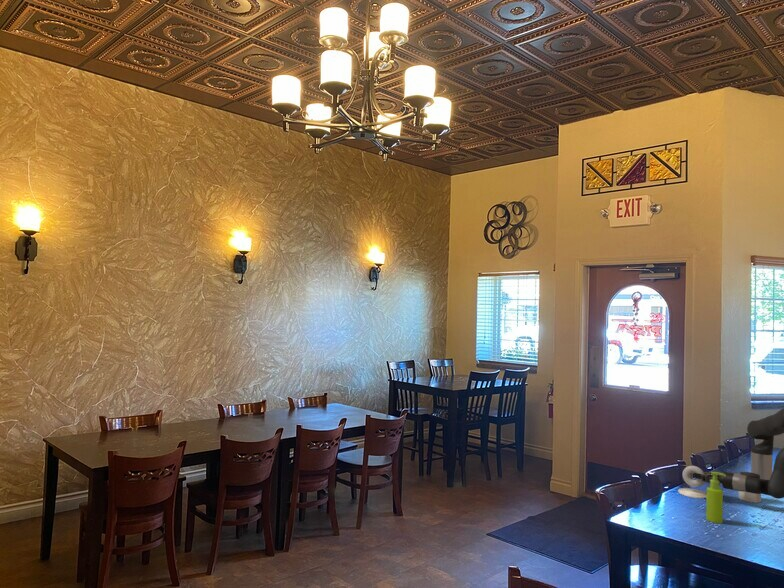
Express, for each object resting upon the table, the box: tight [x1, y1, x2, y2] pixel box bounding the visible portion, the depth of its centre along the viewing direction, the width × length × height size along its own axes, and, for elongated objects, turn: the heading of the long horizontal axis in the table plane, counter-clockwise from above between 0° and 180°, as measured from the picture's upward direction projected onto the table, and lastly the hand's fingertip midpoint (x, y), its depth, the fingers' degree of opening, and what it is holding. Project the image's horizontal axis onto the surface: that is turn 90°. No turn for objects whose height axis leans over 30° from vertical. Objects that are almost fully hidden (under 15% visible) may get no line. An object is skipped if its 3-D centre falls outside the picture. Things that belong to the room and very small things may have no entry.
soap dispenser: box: [705, 471, 726, 524], centre depth 237 cm, size 6×7×20 cm
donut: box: [682, 465, 706, 488], centre depth 273 cm, size 10×4×10 cm, turn 49°
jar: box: [738, 471, 762, 504], centre depth 267 cm, size 9×8×12 cm
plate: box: [677, 487, 707, 500], centre depth 273 cm, size 13×13×1 cm
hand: (694, 474), depth 273 cm, fingers closed on donut, 3 cm apart
